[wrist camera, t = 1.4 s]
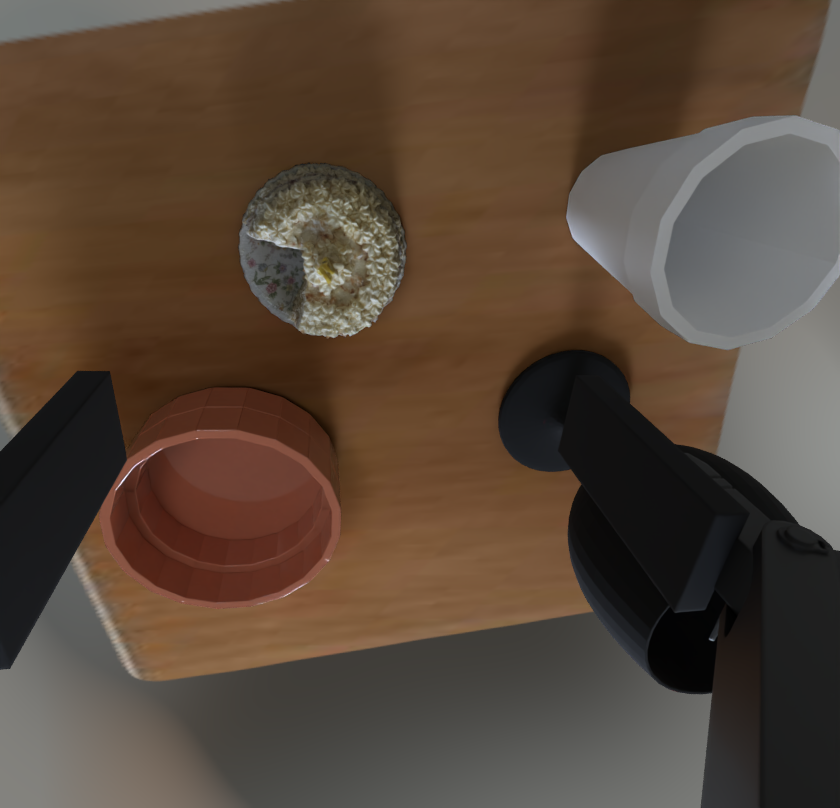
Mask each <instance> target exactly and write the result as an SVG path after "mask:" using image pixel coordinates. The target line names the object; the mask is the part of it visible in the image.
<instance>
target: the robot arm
mask: <svg viewBox="0 0 840 808" xmlns="http://www.w3.org/2000/svg"><path fill="white" fill-rule="evenodd" d="M558 452H559V453H560V455H561V456H562V458H563V459H564V460H565V462H566V463H567V464H568V466H569V467H570V469H571V470H572V471H573V473H574V474H575V476H576V477H577V478H578V480H579V481H580V482H581V484H582V485H583V487H584V488H585V489H586V491H587V492H588V494H589V495H590V496H591V498H592V499H593V500H594V502H595V503H596V505H597V506H598V507H599V509H600V510H601V511H602V513H603V514H604V516H605V517H606V518H607V520H608V521H609V523H610V524H611V525H612V527H613V528H614V529H615V531H616V532H617V534H618V535H619V536H620V538H621V539H622V541H623V542H624V543H625V545H626V546H627V547H628V549H629V550H630V552H631V553H632V554H633V556H634V557H635V559H636V560H637V561H638V563H639V564H640V565H641V567H642V568H643V570H644V571H645V572H646V574H647V575H648V577H649V578H650V579H651V581H652V582H653V583H654V585H655V586H656V588H657V589H658V590H659V592H660V593H661V595H662V596H663V597H664V599H665V600H666V601H667V603H668V604H669V606H670V607H671V608H672V610H673V611H674V612H675V613H677V612H689V611H701V610H705V609H706V607H707V605H708V603H709V601H710V598H711V596H712V594H713V592H714V590H716V592H717V593H718V594H719V595H720V596H721V598H722V599H723V600H724V601H725V602H726V604H725V606H724V608H723V610H722V612H721V614H720V616H719V618H718V620H717V622H716V625H715V627H714V629H713V631H712V633H711V635H710V637H709V640H711V641H713V642H714V640H715V639H716V637H717V636H718V640H717V650H716V660H715V670H714V680H713V690H712V700H711V710H710V720H709V730H708V740H707V750H706V760H705V770H704V780H703V790H702V800H701V808H840V551H836V550H833V548H832V546H831V545H830V544H829V543H827V542H826V541H825V540H824V539H823V538H822V537H821V536H819V535H818V534H816V533H814V532H813V531H811V530H809V529H807V528H805V527H802V526H800V525H798V524H795V523H791V522H787V521H779V520H772V521H771V520H770V519H769V518H768V517H767V516H765V515H764V514H763V513H762V512H761V511H760V510H759V509H758V508H756V507H755V506H754V505H753V504H752V503H751V502H750V501H749V500H747V499H746V498H745V497H744V496H743V495H742V494H741V493H739V492H738V491H737V490H736V489H732V485H730V484H729V483H728V482H727V481H726V480H725V479H724V478H722V479H721V476H720V475H719V474H718V473H717V472H716V471H715V470H713V469H712V468H711V467H710V466H709V465H708V464H707V463H705V462H703V461H701V460H699V459H698V458H696V457H694V456H692V455H691V454H689V453H684V452H683V451H681V450H680V449H679V448H678V447H677V446H676V445H675V444H674V443H673V442H672V441H670V440H669V439H668V438H667V437H666V436H665V435H664V434H663V433H662V432H661V431H659V430H658V429H657V428H656V427H655V426H654V425H653V424H652V423H651V422H650V421H648V420H647V419H646V418H645V417H644V416H643V415H642V414H641V413H640V412H639V411H638V410H636V409H635V408H634V407H633V406H632V405H631V404H630V403H629V402H628V401H627V400H625V399H624V398H623V397H622V396H621V395H620V394H619V393H618V392H617V391H616V390H614V389H613V388H612V387H611V386H610V385H609V384H608V383H607V382H606V381H605V380H603V379H602V378H601V377H600V376H599V375H576V378H575V382H574V386H573V390H572V394H571V398H570V403H569V407H568V411H567V415H566V419H565V423H564V428H563V432H562V436H561V440H560V444H559V448H558ZM126 461H127V456H126V451H125V446H124V440H123V435H122V430H121V425H120V420H119V415H118V410H117V405H116V400H115V395H114V390H113V385H112V380H111V375H110V371H77V372H76V373H75V374H74V375H73V376H72V377H71V378H70V379H69V380H68V381H67V382H66V384H65V385H64V386H63V387H62V388H61V389H60V390H59V391H58V392H57V393H56V394H55V395H54V396H53V397H52V398H51V399H50V400H49V401H48V402H47V403H46V404H45V405H44V406H43V407H42V409H41V410H40V411H39V412H38V413H37V414H36V415H35V416H34V417H33V418H32V419H31V420H30V421H29V422H28V423H27V424H26V425H25V426H24V427H23V428H22V429H21V430H20V431H19V433H18V434H17V435H16V436H15V437H14V438H13V439H12V440H11V441H10V442H9V443H8V444H7V445H6V446H5V447H4V448H3V449H2V450H1V451H0V670H1V669H10V668H11V666H12V664H13V662H14V660H15V659H16V657H17V655H18V653H19V652H20V650H21V648H22V646H23V645H24V643H25V641H26V639H27V637H28V636H29V634H30V632H31V630H32V629H33V627H34V625H35V623H36V621H37V619H38V618H39V616H40V614H41V613H42V611H43V609H44V607H45V605H46V604H47V602H48V600H49V598H50V597H51V595H52V593H53V591H54V589H55V587H56V586H57V584H58V582H59V580H60V579H61V577H62V575H63V573H64V572H65V570H66V568H67V566H68V564H69V563H70V561H71V559H72V557H73V556H74V554H75V552H76V550H77V548H78V547H79V545H80V543H81V541H82V540H83V538H84V536H85V534H86V532H87V531H88V529H89V527H90V525H91V524H92V522H93V520H94V518H95V516H96V515H97V513H98V511H99V509H100V508H101V506H102V504H103V502H104V500H105V499H106V497H107V495H108V493H109V492H110V490H111V488H112V486H113V484H114V483H115V481H116V479H117V477H118V475H119V474H120V472H121V470H122V468H123V467H124V465H125V463H126Z"/></svg>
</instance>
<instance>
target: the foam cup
mask: <svg viewBox="0 0 840 808" xmlns="http://www.w3.org/2000/svg"><path fill="white" fill-rule="evenodd" d="M566 218H567V222H568V225H569V228H570V231H571V234H572V237H573V239H574V240H575V241H576V242H577V243H578V244H579V245H580V246H581V247H582V248H583V249H584V250H585V251H586V252H588V253H589V254H590V255H591V256H592V257H593V258H594V259H595V260H596V261H597V262H598V263H599V264H600V265H602V266H603V267H604V268H605V269H606V270H607V271H608V272H609V273H610V274H611V275H612V276H614V277H615V278H616V279H617V280H618V281H619V282H620V283H621V284H622V285H623V286H624V287H625V288H627V289H628V290H629V291H630V292H631V293H632V294H633V298H634V301H635V302H636V303H637V304H638V305H639V306H640V307H641V308H643V309H644V310H645V311H646V312H647V313H648V314H649V315H650V316H651V317H652V318H653V319H654V320H655V321H656V322H657V323H658V324H659V325H661V326H662V327H664V328H665V329H667V330H669V331H670V332H672V333H674V334H675V335H677V336H679V337H680V338H682V339H684V340H685V341H687V342H689V343H694V344H699V345H704V346H709V347H714V348H720V349H725V350H730V349H734V348H737V347H741V346H745V345H748V344H752V343H756V342H760V341H763V340H767V339H771V338H773V337H774V336H775V335H777V334H778V333H780V332H781V331H783V330H784V329H785V328H787V327H788V326H790V325H791V324H793V323H794V322H796V321H797V320H798V319H800V318H801V317H803V316H804V315H806V314H807V313H808V312H810V311H811V310H813V309H814V307H815V306H816V305H817V304H818V302H819V301H820V300H821V299H822V297H823V296H824V295H825V293H826V292H827V291H828V290H829V288H830V287H831V286H832V285H833V283H834V282H835V281H836V279H837V278H838V277H839V276H840V130H838V129H836V128H832V127H829V126H826V125H823V124H820V123H817V122H814V121H811V120H808V119H805V118H802V117H799V116H796V115H792V116H759V117H749V118H745V119H742V120H738V121H734V122H730V123H726V124H722V125H718V126H714V127H710V128H707V129H704V130H702V131H701V132H700V133H698V134H693V135H688V136H684V137H679V138H674V139H670V140H665V141H661V142H656V143H651V144H647V145H642V146H637V147H633V148H628V149H624V150H620V151H616V152H613V153H609V154H605V155H601V156H600V157H599V158H597V159H596V160H595V161H594V162H592V163H591V164H590V165H589V166H588V167H586V168H585V169H584V170H583V171H582V172H581V173H580V175H579V177H578V179H577V181H576V182H575V184H574V186H573V188H572V190H571V192H570V193H569V200H568V208H567V216H566Z"/></svg>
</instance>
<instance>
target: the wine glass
mask: <svg viewBox="0 0 840 808" xmlns="http://www.w3.org/2000/svg"><path fill="white" fill-rule="evenodd" d="M576 375H599V376H600V377H601V378H602V379H603V380H605V381H606V382H607V383H608V384H609V385H610V386H611V387H612V388H613V389H614V390H616V391H617V392H618V393H619V394H620V395H621V396H622V397H623V398H624V399H625V400H627V401H628V402H629V403H630V391H629V387H628V383H627V381H626V379H625V376H624V375H623V373H622V372H621V371H620V369H619V368H618V367H617V366H616V365H615V364H614V363H612V362H611V361H610V360H608V359H607V358H605V357H604V356H602V355H599V354H596V353H594V352H589V351H584V350H571V351H563V352H559V353H556V354H552V355H549V356H547V357H545V358H543V359H540V360H539V361H537V362H535V363H534V364H532V365H531V366H529V367H528V368H527V369H526V370H524V371H523V372H522V373H521V374H520V375H519V376H518V377H517V378H516V379H515V381H514V382H513V383H512V385H511V386H510V387H509V389H508V391H507V393H506V395H505V396H504V398H503V401H502V404H501V407H500V412H499V432H500V437H501V439H502V442H503V444H504V446H505V448H506V449H507V451H508V452H509V453H510V454H511V455H512V457H513V458H514V459H515V460H517V461H518V462H520V463H521V464H523V465H525V466H527V467H529V468H532V469H535V470H539V471H547V472H555V471H564V470H569V469H570V467H569V466H568V464H567V463H566V462H565V460H564V459H563V458H562V456H561V455H560V453H559V452H558V448H559V444H560V440H561V436H562V432H563V428H564V423H565V419H566V415H567V411H568V407H569V403H570V398H571V394H572V390H573V386H574V382H575V378H576ZM675 445H676V446H677V447H678V448H679V449H680V450H681V451H683V452H684V453H689V454H691V455H692V456H694V457H696V458H698V459H699V460H701V461H703V462H705V463H707V464H708V465H709V466H710V467H711V468H712V469H713V470H715V471H716V472H717V473H718V474H719V475H720V476H721V479H722V478H724V479H725V480H726V481H727V482H728V483H729V484H730V485H732V489H736V490H737V491H738V492H739V493H741V494H742V495H743V496H744V497H745V498H746V499H747V500H749V501H750V502H751V503H752V504H753V505H754V506H755V507H756V508H758V509H759V510H760V511H761V512H762V513H763V514H764V515H765V516H767V517H768V518H769V519H770V520H771V521H772V520H779V521H787V522H791V523H795V524H798V522H797V521H796V520H795V518H794V517H793V516H792V515H791V514H790V513H789V511H787V509H786V508H785V507H784V506H783V505H782V503H780V502H779V501H778V500H777V499H776V498H775V497H774V496H773V495H772V494H771V493H770V492H769V491H768V490H767V489H766V488H765V487H764V486H763V485H762V484H760V483H759V482H758V481H757V480H756V479H754V478H753V477H752V476H750V475H749V474H748V473H746V472H745V471H743V470H742V469H740V468H739V467H737V466H735V465H734V464H732V463H730V462H728V461H727V460H725V459H723V458H721V457H719V456H717V455H714V454H712V453H709V452H706V451H703V450H700V449H697V448H693V447H689V446H683V445H677V444H675ZM798 525H799V524H798ZM568 545H569V552H570V558H571V562H572V566H573V569H574V572H575V575H576V578H577V580H578V583H579V585H580V588H581V590H582V592H583V594H584V596H585V598H586V600H587V601H588V603H589V604H590V606H591V608H592V609H593V611H594V612H595V614H596V615H597V617H598V618H599V620H600V621H601V622H602V624H603V625H604V626H605V628H606V629H607V630H608V631H609V633H610V634H611V635H612V637H613V638H614V639H615V640H616V641H617V642H618V644H620V646H621V647H622V648H623V649H624V650H625V651H626V652H627V653H628V654H629V655H630V656H631V657H632V658H633V659H634V660H635V661H636V663H637V664H639V666H641V667H642V668H643V669H644V670H645V671H646V672H647V673H648V674H649V675H650V676H651V677H652V678H653V679H654V680H656V681H657V682H658V683H659V684H661V685H662V686H664V687H666V688H668V689H670V690H673V691H676V692H680V693H687V694H709V693H712V690H713V680H714V670H715V660H716V650H717V640H718V636H717V637H716V639H715V640H714V642H713V641H711V640H709V637H710V635H711V633H712V631H713V629H714V627H715V625H716V622H717V620H718V618H719V616H720V614H721V612H722V610H723V608H724V606H725V604H726V602H725V601H724V600H723V599H722V598H721V596H720V595H719V594H718V593H717V592H716V590H714V592H713V594H712V596H711V598H710V601H709V603H708V605H707V607H706V609H705V610H701V611H689V612H677V613H675V612H674V611H673V610H672V608H671V607H670V606H669V604H668V603H667V601H666V600H665V599H664V597H663V596H662V595H661V593H660V592H659V590H658V589H657V588H656V586H655V585H654V583H653V582H652V581H651V579H650V578H649V577H648V575H647V574H646V572H645V571H644V570H643V568H642V567H641V565H640V564H639V563H638V561H637V560H636V559H635V557H634V556H633V554H632V553H631V552H630V550H629V549H628V547H627V546H626V545H625V543H624V542H623V541H622V539H621V538H620V536H619V535H618V534H617V532H616V531H615V529H614V528H613V527H612V525H611V524H610V523H609V521H608V520H607V518H606V517H605V516H604V514H603V513H602V511H601V510H600V509H599V507H598V506H597V505H596V503H595V502H594V500H593V499H592V498H591V496H590V495H589V494H588V492H587V491H586V489H585V488H584V487H583V485H582V484H581V486H580V488H579V489H578V491H577V494H576V496H575V498H574V501H573V503H572V507H571V511H570V516H569V524H568Z"/></svg>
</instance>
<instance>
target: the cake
mask: <svg viewBox="0 0 840 808" xmlns="http://www.w3.org/2000/svg"><path fill="white" fill-rule="evenodd" d="M404 234H405V232H404V229H403V227H402V225H401V222H400V216H399V215H398V214H397V212H396V211H395V210H394V206H393V205H392V203H391V202H390V201H389V200H388V199H387V198H386V197H385V194H384V192H383V191H381V190H380V189H378V188H377V187H376V185H374V184H373V182H371V180H369V179H367V178H364V177H363V176H362V175H360V174H359V173H357V172H353V171H349V170H348V169H347V168H345V167H343V166H331V165H330V164H326V163H324V164H323V163H320V165H318V164H314V163H313V164H310V163H308V164H301V165H295V166H294V167H293V168H291V169H290V170H286V171H285V170H284V171H282V172H280V173H279V174H278V175H277V176H276V177H275V178H272V179H268V181H267V182H266V183H265V185H264V187H263V188H260V189H259V190H258V191H257V192H256V195H255V197H254V198H253V199H252V200H251V201H250V202H249V205H248V208H247V211H246V213H245V214H243V219H242V228H241V229H240V231H239V241H240V243H239V246H238V249H239V254H240V265H241V267H242V268H243V272H244V277H245V279H246V281H247V282H248V283H249V285H250V289H251V291H252V292H253V293H254V295H256V296H257V297H258V299H259V301H260V302H261V303H262V305H264V306H266V307H267V309H268V310H269V311H270V312H271V313H272V314H274V315H276V316H278V317H279V318H280V319H281V320H282V321H284V322H287V323H290V324H292V325H294V326H295V327H296V328H297V329H298V330H299V331H301V332H302V333H304V334H310V335H317V336H319V335H323V336H327V339H328V338H329V337H333V338H335V337H337V336H338V335H343V336H344V338H345V337H346V335H347V334H349V336H351V335H353V334H356V333H358V332H359V331H360V330H361V329H363V328H364V327H367V326H368V327H370V326H371V324H372V323H371V322H372V321H374V322H375V321H376V320H377V319H378V315H380V313H381V312H382V311H383V308H384V307H385V306H386V305H387V304H388V303H390V301H392V300H393V298H392V297H393V296H394V293H395V291H396V289H397V288H399V285H400V280H401V279H402V277H403V276H404V274H403V273H404V266H405V262H406V253H405V251H406V247H407V243H406V240H405V239H404V238H405V236H404Z"/></svg>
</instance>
